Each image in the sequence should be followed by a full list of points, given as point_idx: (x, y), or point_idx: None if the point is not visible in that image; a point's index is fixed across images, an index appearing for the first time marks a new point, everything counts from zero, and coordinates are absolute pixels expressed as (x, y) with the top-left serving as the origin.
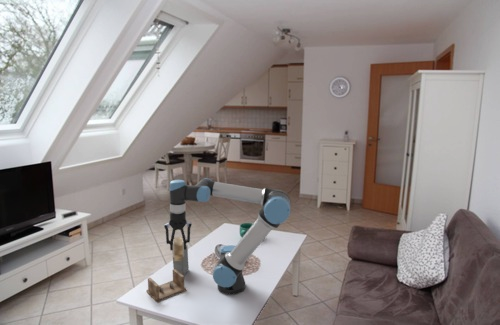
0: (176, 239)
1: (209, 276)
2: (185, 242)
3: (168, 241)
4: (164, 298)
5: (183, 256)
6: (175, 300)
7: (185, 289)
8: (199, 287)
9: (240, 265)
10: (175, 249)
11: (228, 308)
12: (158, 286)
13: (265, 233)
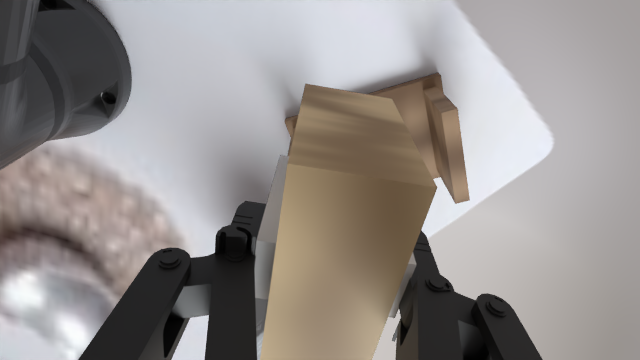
0: (337, 357)
1: (164, 188)
2: (225, 255)
3: (492, 323)
4: (397, 85)
5: (261, 302)
6: (352, 52)
7: (289, 119)
8: (221, 118)
9: None
10: (405, 153)
11: None
12: (442, 110)
13: None
